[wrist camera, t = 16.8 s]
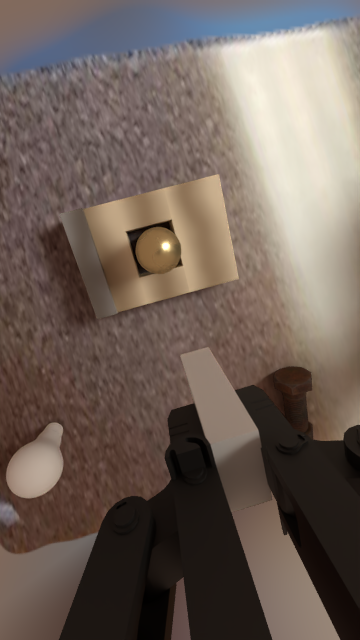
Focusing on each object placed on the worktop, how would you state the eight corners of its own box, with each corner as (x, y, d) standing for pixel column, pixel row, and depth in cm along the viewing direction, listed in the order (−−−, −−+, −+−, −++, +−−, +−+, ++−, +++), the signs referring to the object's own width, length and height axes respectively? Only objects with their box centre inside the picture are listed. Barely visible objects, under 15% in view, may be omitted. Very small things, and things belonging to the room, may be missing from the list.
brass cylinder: (163, 227, 35) (173, 221, 25) (173, 259, 37) (186, 266, 26) (132, 237, 35) (129, 234, 25) (142, 269, 36) (144, 279, 26)
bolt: (284, 438, 49) (275, 364, 45) (316, 441, 47) (310, 364, 42) (282, 465, 44) (272, 385, 40) (317, 470, 42) (311, 387, 37)
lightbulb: (76, 444, 42) (54, 511, 32) (34, 443, 42) (-4, 511, 31) (78, 409, 41) (54, 467, 30) (33, 407, 40) (-6, 466, 29)
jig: (210, 181, 35) (220, 172, 30) (229, 275, 38) (240, 279, 34) (69, 218, 34) (57, 214, 29) (101, 310, 37) (95, 319, 33)
